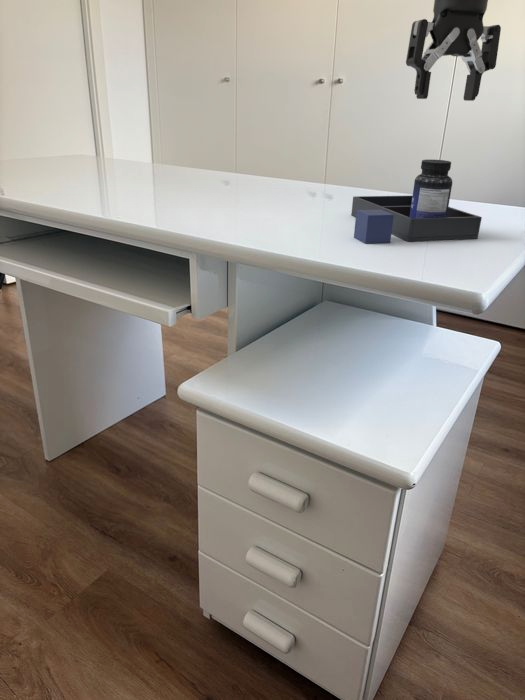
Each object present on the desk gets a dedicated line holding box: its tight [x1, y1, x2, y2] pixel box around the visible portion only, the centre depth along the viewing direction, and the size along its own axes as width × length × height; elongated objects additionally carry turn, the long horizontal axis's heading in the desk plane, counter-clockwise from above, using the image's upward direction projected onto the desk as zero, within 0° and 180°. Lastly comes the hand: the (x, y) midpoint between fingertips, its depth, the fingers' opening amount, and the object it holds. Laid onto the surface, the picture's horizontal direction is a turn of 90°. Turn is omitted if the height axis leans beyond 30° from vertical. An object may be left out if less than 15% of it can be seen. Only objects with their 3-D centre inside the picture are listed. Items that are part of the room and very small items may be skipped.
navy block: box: [353, 210, 394, 245], centre depth 86 cm, size 4×4×4 cm
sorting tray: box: [350, 195, 483, 242], centre depth 97 cm, size 13×22×4 cm, turn 16°
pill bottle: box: [410, 159, 453, 219], centre depth 90 cm, size 6×6×11 cm
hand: (445, 99), depth 84 cm, fingers open, 8 cm apart
